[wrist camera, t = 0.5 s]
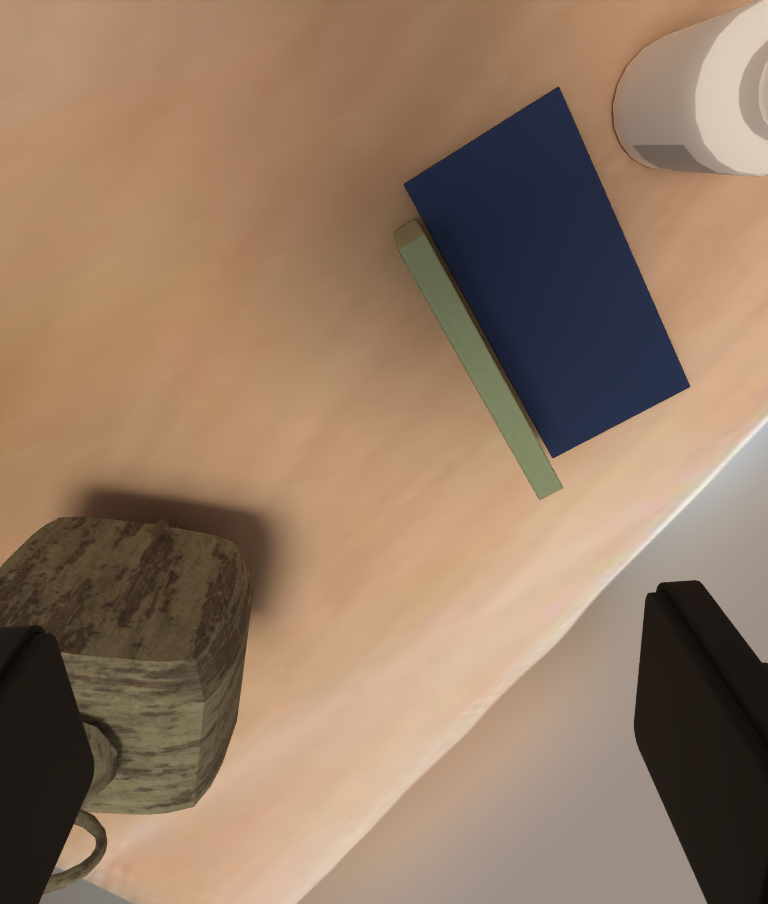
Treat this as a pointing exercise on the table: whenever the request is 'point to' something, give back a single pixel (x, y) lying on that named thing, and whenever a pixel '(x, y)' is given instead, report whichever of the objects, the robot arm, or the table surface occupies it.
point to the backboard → (475, 357)
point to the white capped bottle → (700, 97)
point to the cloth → (550, 274)
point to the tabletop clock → (139, 654)
